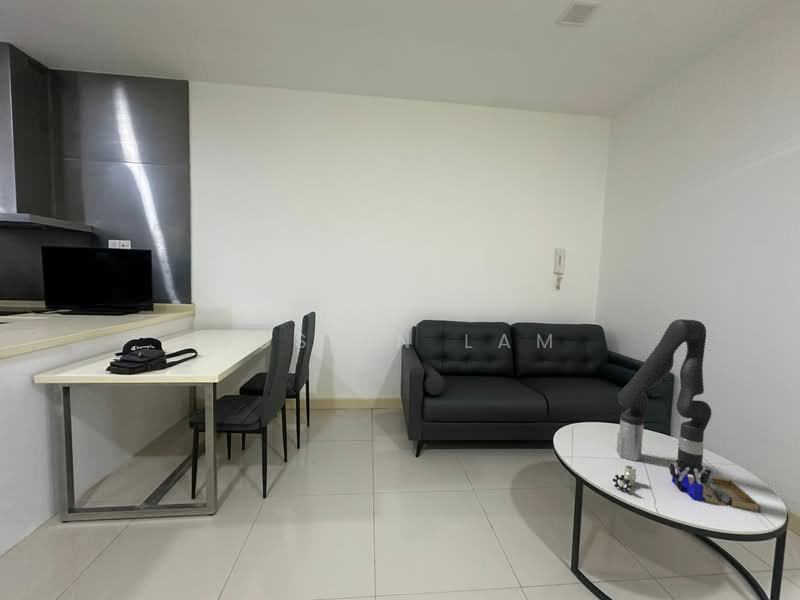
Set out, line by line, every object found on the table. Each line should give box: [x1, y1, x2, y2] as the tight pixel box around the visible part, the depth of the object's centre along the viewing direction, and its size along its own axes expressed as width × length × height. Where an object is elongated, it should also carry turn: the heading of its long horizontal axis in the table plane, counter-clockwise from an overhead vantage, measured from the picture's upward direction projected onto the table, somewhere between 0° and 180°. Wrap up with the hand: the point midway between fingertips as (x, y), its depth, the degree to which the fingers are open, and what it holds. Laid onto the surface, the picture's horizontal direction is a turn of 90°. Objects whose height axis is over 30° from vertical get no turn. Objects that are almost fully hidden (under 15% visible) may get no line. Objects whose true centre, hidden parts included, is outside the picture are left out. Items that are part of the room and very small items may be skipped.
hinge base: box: [688, 476, 762, 513], centre depth 134 cm, size 16×17×3 cm
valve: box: [612, 465, 637, 493], centre depth 137 cm, size 7×7×12 cm
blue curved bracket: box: [671, 467, 704, 502], centre depth 135 cm, size 12×4×6 cm, turn 166°
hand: (687, 489), depth 135 cm, fingers closed on blue curved bracket, 4 cm apart
